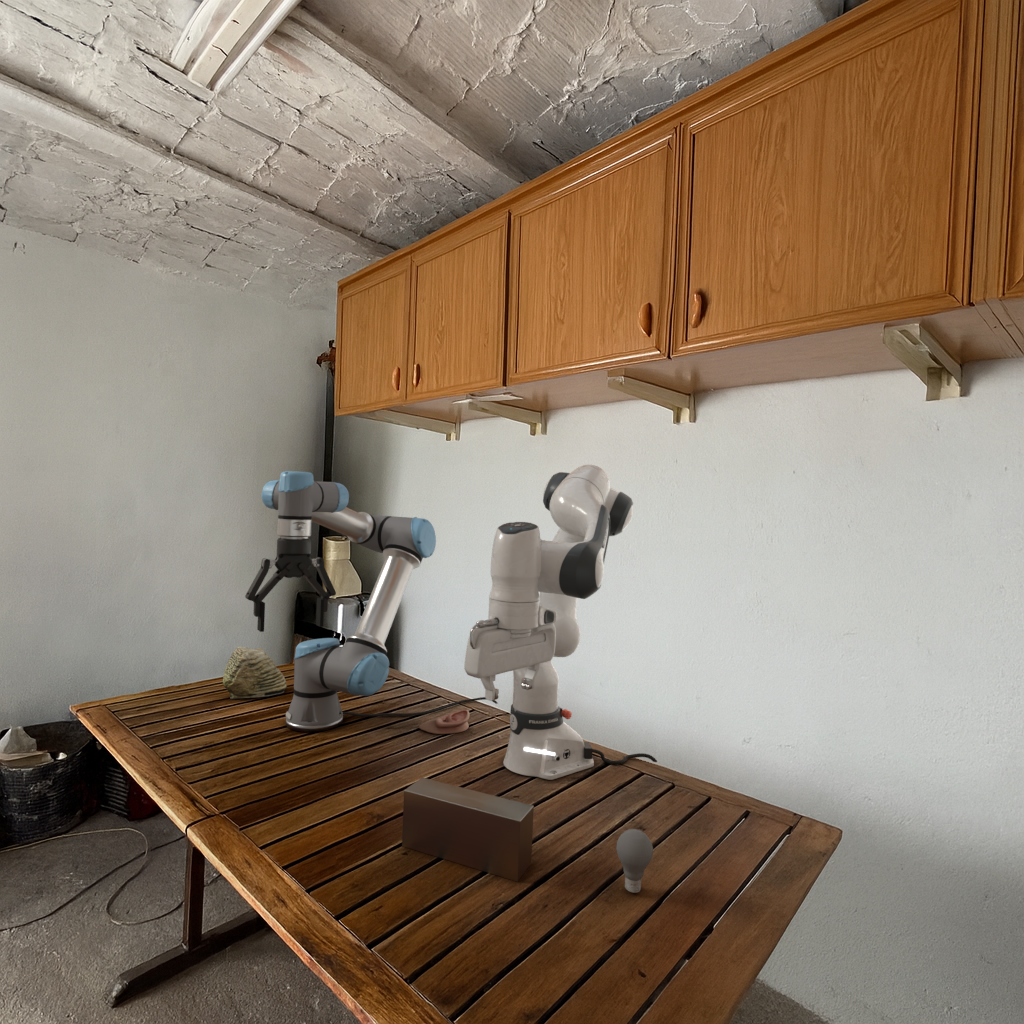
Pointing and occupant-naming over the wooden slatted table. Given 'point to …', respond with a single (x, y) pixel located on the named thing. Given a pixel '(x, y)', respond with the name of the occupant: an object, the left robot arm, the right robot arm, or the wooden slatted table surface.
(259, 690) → the fossil
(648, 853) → the light bulb
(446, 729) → the anatomical model
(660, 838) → the wooden slatted table surface
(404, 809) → the box
